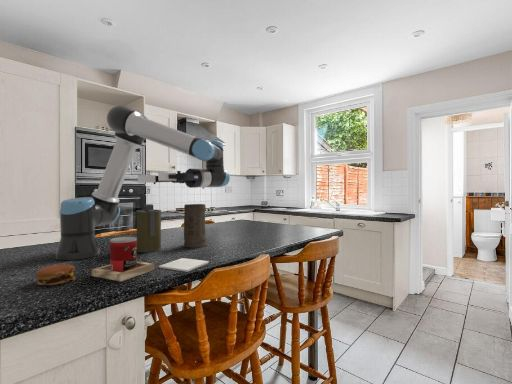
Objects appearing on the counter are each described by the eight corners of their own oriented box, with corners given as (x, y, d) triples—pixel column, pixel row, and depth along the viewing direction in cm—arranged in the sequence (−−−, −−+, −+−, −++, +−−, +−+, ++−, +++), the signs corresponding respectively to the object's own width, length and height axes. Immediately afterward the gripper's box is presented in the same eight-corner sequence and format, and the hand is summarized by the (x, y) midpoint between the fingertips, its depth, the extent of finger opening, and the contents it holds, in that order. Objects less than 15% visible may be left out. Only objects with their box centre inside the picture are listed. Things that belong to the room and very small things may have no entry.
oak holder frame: (91, 275, 88) (91, 269, 88) (126, 265, 100) (126, 259, 100) (120, 281, 82) (120, 274, 82) (154, 269, 94) (154, 263, 94)
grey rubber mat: (158, 267, 97) (158, 265, 97) (182, 259, 108) (182, 258, 108) (187, 271, 92) (187, 269, 92) (208, 262, 102) (208, 261, 102)
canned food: (127, 277, 87) (127, 241, 86) (104, 275, 88) (104, 240, 88) (142, 270, 94) (141, 236, 94) (121, 268, 96) (120, 236, 96)
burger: (37, 280, 84) (37, 265, 84) (74, 275, 90) (74, 260, 90) (35, 290, 76) (34, 273, 76) (76, 283, 82) (76, 267, 82)
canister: (133, 248, 127) (133, 204, 126) (157, 246, 133) (157, 203, 132) (139, 253, 118) (139, 205, 117) (164, 250, 124) (164, 204, 123)
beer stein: (204, 248, 128) (204, 203, 129) (180, 248, 128) (180, 203, 129) (210, 243, 143) (210, 204, 144) (189, 243, 143) (189, 204, 145)
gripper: (218, 186, 106) (169, 187, 90) (179, 188, 122) (131, 189, 106) (217, 166, 106) (168, 163, 90) (178, 171, 122) (130, 169, 106)
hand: (148, 177), depth 98 cm, fingers open, 13 cm apart
